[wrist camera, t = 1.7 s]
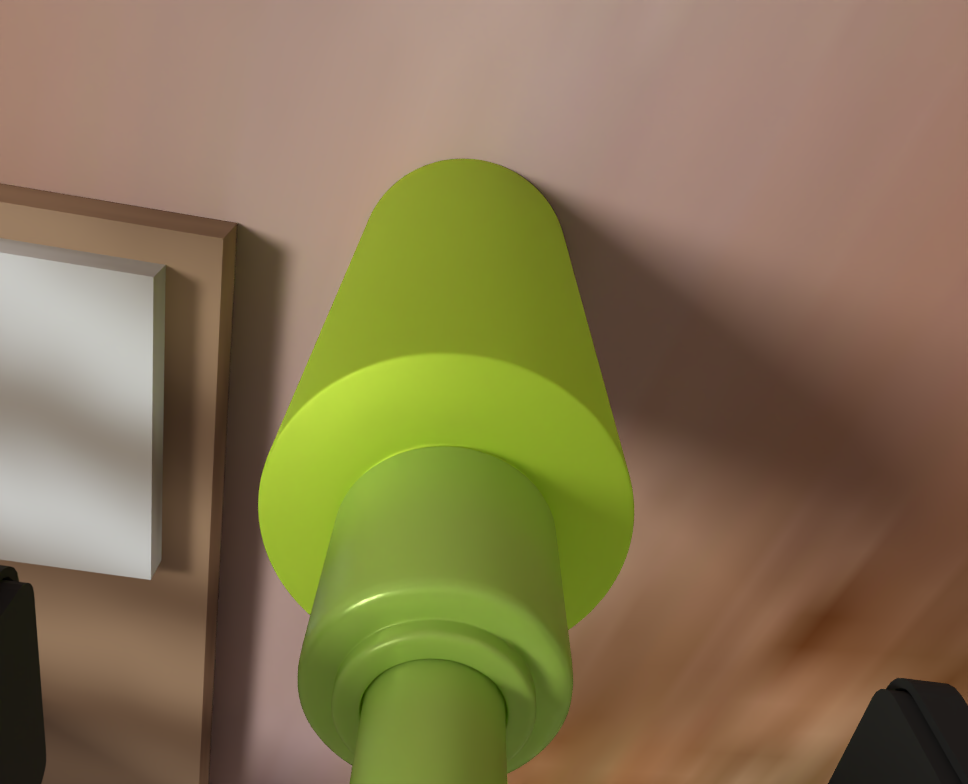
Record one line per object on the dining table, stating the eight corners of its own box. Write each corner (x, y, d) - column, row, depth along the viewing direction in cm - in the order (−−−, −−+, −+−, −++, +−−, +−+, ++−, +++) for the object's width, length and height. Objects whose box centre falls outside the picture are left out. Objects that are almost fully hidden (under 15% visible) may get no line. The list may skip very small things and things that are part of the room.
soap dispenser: (581, 369, 27) (769, 1188, 9) (354, 342, 27) (92, 1140, 9) (620, 178, 25) (985, 799, 7) (369, 144, 24) (38, 709, 6)
